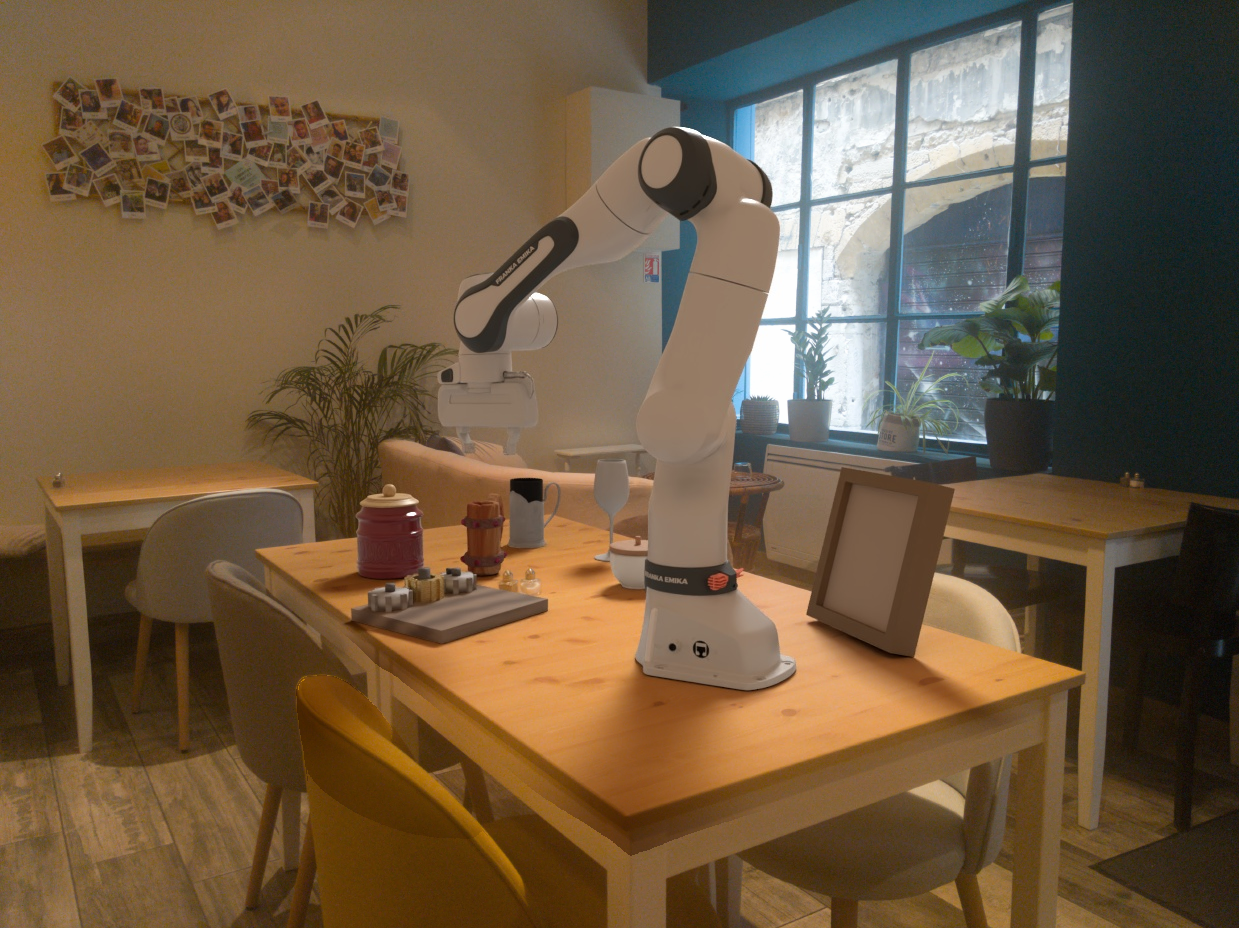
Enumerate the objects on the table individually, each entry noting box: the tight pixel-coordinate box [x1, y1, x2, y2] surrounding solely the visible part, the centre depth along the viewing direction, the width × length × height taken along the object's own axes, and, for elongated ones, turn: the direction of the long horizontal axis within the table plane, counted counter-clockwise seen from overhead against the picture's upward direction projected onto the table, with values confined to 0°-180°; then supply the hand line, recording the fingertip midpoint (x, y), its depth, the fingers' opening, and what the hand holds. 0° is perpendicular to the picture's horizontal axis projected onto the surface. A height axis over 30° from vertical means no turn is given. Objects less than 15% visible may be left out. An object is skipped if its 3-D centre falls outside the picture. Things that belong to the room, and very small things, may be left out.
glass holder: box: [507, 477, 562, 549], centre depth 218 cm, size 9×14×15 cm, turn 133°
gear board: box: [350, 566, 549, 644], centre depth 155 cm, size 21×24×7 cm
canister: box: [355, 483, 425, 580], centre depth 186 cm, size 13×13×18 cm
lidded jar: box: [608, 535, 648, 590], centre depth 177 cm, size 11×11×9 cm
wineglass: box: [593, 458, 630, 563], centre depth 201 cm, size 8×8×21 cm
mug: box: [459, 493, 508, 577], centre depth 188 cm, size 15×8×15 cm, turn 168°
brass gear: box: [403, 572, 444, 602], centre depth 159 cm, size 6×6×4 cm
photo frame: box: [805, 466, 956, 658], centre depth 145 cm, size 15×22×25 cm
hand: (489, 454), depth 160 cm, fingers open, 8 cm apart
